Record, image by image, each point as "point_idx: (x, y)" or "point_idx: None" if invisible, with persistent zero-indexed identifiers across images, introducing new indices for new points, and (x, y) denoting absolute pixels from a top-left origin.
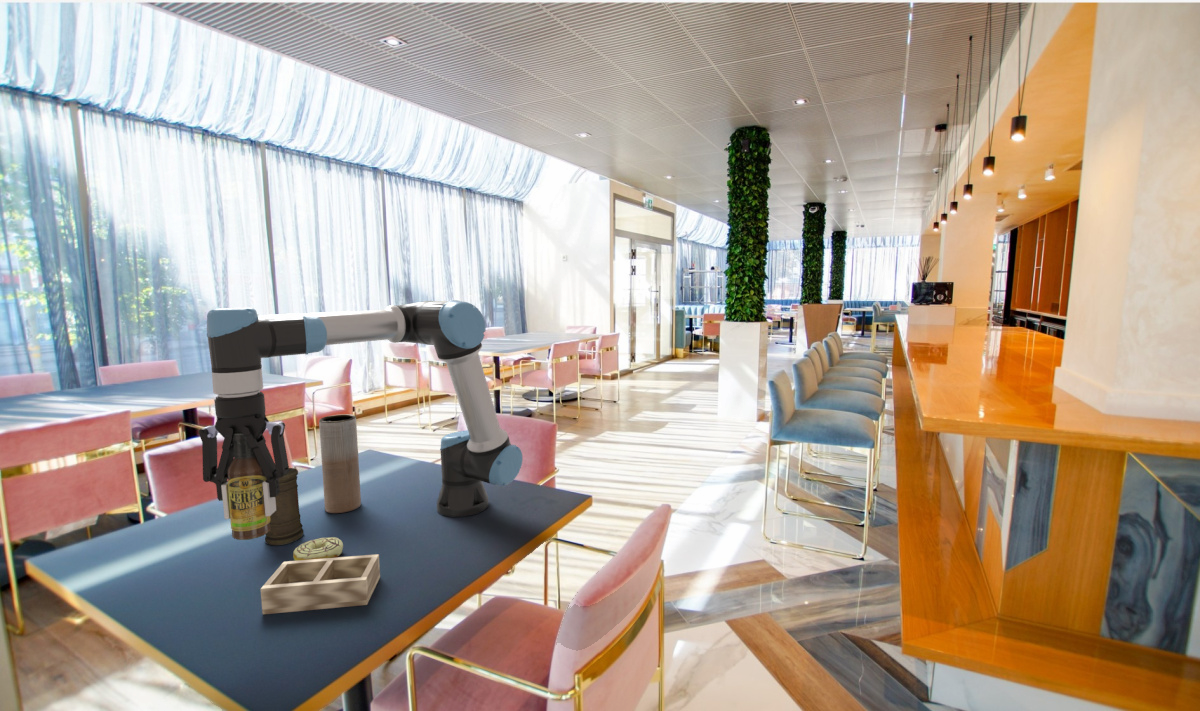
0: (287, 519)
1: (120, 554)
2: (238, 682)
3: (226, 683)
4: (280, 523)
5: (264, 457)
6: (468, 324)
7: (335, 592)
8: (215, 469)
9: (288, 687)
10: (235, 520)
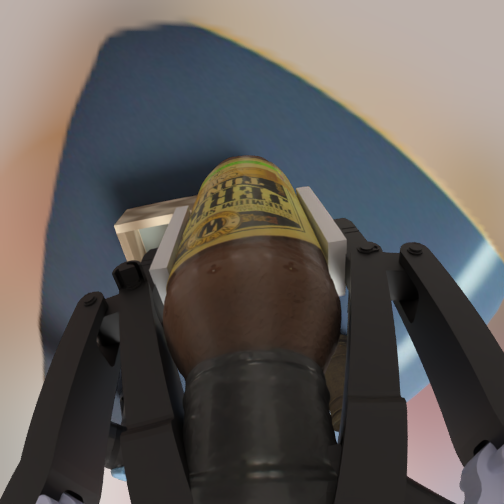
0: (329, 364)
1: (473, 302)
2: (202, 47)
3: (217, 45)
4: (335, 358)
5: (123, 369)
6: None
7: (158, 210)
8: (406, 311)
9: (133, 47)
10: (261, 167)
